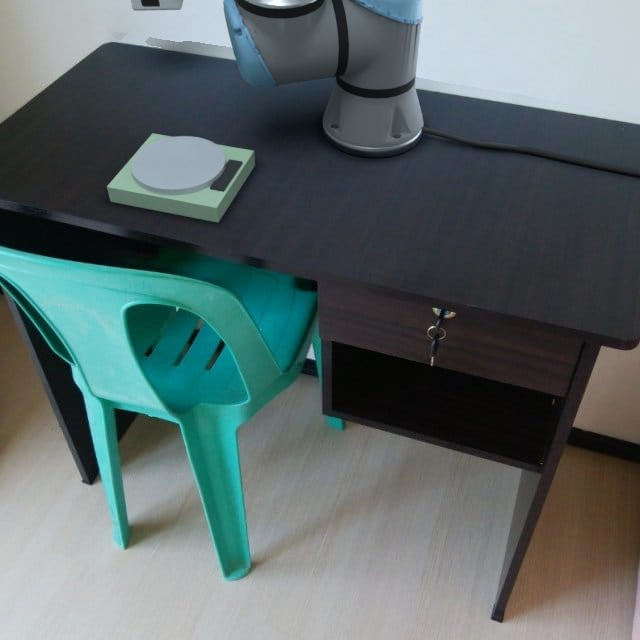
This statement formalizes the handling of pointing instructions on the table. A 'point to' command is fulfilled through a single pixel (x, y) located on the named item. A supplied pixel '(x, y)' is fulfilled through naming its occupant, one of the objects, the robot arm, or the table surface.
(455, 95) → the table surface
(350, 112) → the robot arm
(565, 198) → the table surface
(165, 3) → the container
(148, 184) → the scale
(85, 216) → the table surface
